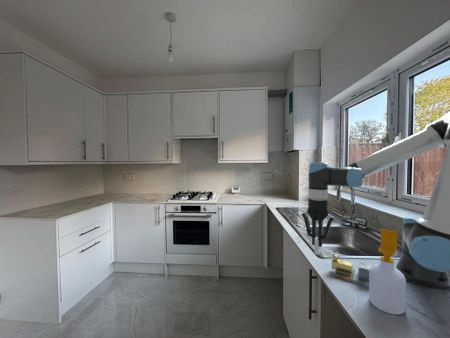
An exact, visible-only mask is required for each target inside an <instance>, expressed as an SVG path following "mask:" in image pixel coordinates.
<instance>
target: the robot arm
mask: <svg viewBox="0 0 450 338" xmlns="http://www.w3.org/2000/svg"><path fill="white" fill-rule="evenodd" d="M436 148H441V149H444V148H446V151H445V154H444V156H443V159H442V162H441V164H440V165H441V166H440V168H439V169H438V170H439V171H438V173H437V176H436V180H435V182H434V185H433V188H432V190H431V193H430V196H429V199H428V202H427V205H426V208H425V210H424V212H423V213H424V214H423V216H421V217H417V216H416V217H415V216H405V217H404V218H403V219H402V223H401V225H402V240H401V241H402V242H401V243H402V244H401V245H402V247H401V248H402V249H401V251H402V252H401V255H400V257H399V259H398V262H397V263H396V267H395V268H396V269H398V270H399V271H400V272H401V273H402V274H403V275H404V276H405V279H406V281H408V282H411V283H414V284H416V285H420V286H423V287H427V288H432V289H439V290H441V289H448V288H450V276H449V273H448V272H450V111H448V113H446V114H445V115H444V116H442V117H440V118H439V119H437V120H435V121H433V122H432V123H429V124H426V126H425V128H424V129H423V130H421V131H419V132H416V133H415V134H413V135H410V136H408V137H407V138H404V139H402V140H399V141H398V142H396V143H393V144H391V145H389V146H387V147H384V148H382V149H380V150H378V151H376V152H374V153H372V154H369V155H368V156H366V157H363V158H361V159H359V160H356V161H355V162H352V163H351V164H348V165H346V166H343V167H331V166H330V165H329V163H328V162H310V163H309V165H308V166H309V167H308V204H307V207H308V208H307V209H306V211H304V212H303V213H301V216H302V219H303V221H304V224H305V225H304V226H305V229H306V233H307V236H308V237H311V245H312V246H314V248H313V249H314V255H319V254H320V251H321V247H323V240H326V239H327V238H328V235H329V232H330V229H331V225H332V222H333V221H334V220H335V216H333V215H331V214H330V213H329V209H328V208H329V207H328V206H329V205H328V201H329V200H328V198H329V194H328V193H329V186H332V187H334V186H335V187H346V188H347V187H348V188H361V187H362V186H363V179H365V178H366V177H369V176H372V175H373V174H376V173H379V172H381V171H384V170H386V169H388V168H390V167H393V166H395V165H398V164H400V163H403V162H404V161H408V160H410V159H413V158H414V157H417V156H419V155H422V154H424V153H426V152H430V151H432V150H434V149H436ZM309 217H310V219H311V222H310V219H309ZM326 218H327V222H326V226H325V229H324V220H325V219H326ZM317 222H318V223H317ZM317 224H318V228H317ZM317 229H318V236H317ZM323 231H324V232H323Z"/></svg>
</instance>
